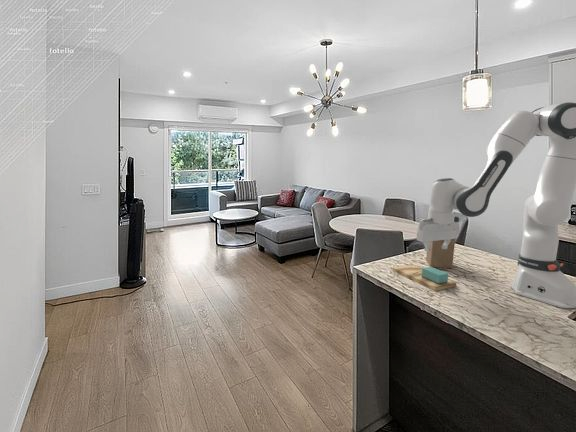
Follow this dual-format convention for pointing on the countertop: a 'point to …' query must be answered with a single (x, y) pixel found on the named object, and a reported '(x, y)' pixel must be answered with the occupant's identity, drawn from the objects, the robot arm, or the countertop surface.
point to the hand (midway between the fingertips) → (436, 250)
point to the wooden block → (440, 254)
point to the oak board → (416, 275)
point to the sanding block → (435, 275)
